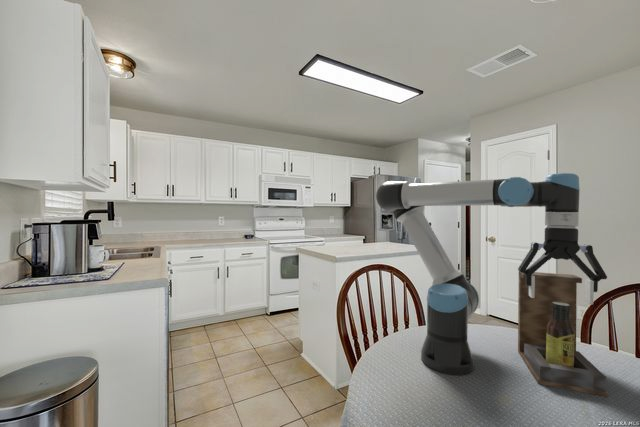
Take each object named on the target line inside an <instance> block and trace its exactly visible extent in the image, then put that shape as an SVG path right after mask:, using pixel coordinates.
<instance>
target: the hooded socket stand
mask: <svg viewBox="0 0 640 427" xmlns="http://www.w3.org/2000/svg"><path fill="white" fill-rule="evenodd" d="M532 275H534V276H535V296H534V298H531V297H530V296H529V286H527V285H526V284H525V274H524V273H522V272H520V271H518V294H517V295H518V304H517V305H518V312H517V314H518V315H517V319H518V320H517V321H518V322H517V324H518V325H517V353H518V355H519V356H520V357H521V359H522V360H523V362H524V364H525V365H526V367H527V368H528V370H529V372H530V373H531V374H532V376H533V378H534V380H535V382H536V383H537V384H538V385H544V386H548V387H554V388H559V389H564V390H570V391H576V392H581V393H586V394H590V395H591V394H592V395H598V396H603V397H607V398H608V397H609V392H608V391H607V387H606V386H607V376H606V375H604V373H602V372H601V371H600V370H599V369H598V368H597V367H596V366H595V365H594V364H593V363H592V362H591V361H590V360H589V359H588V358H586V357H585V356H584V355H583V354H582V353H581V352H580V351H578V350H577V295H578V293H577V290H578V289H577V284H582V283H583V278H582V277H580V276H578V275H575V274H564V273H551V272H537V271H535V272H534V273H533V274H532ZM552 302H562V303H566V304H569V305H570V310H569V321H570V323H571V326H572V329H573V331H574V334H575V336H574V368H573V367H567V366H561V365H555V364H549V363H547V362H546V337H547V325H548V322H549V321H550V320H551V319H552V318H553V317H552V314H553V307H552Z"/></svg>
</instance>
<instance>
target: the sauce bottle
mask: <svg viewBox="0 0 640 427" xmlns="http://www.w3.org/2000/svg"><path fill="white" fill-rule="evenodd" d="M552 307H553V314H552V317H553V318H552V319H551V320H550V321H549V322H548V325H547V337H546V362H547V363H549V364H555V365H561V366H567V367H573V368H574V336H575V334H574V331H573V329H572V326H571V323H570V321H569V310H570V305H569V304H566V303H562V302H552Z"/></svg>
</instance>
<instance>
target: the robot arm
mask: <svg viewBox="0 0 640 427" xmlns="http://www.w3.org/2000/svg"><path fill="white" fill-rule="evenodd" d="M375 200H376V202H377V205H378V206H379V207H380V208H381V209H382V210H384V211H385V212H390V213H392V215H393V216H394V218H395V220H396V222H398V223H401V224H402V225H403V227H404V229H405V230H406V232H407V235H408V236H409V238H410V239H411V241H412V244H413V245H414V247H415V249H416V251H417V252H418V254H419V256H420V258H421V261H422V262H423V264H424V266H425V267H426V270H427V271H428V273H429V275H430V277H431V279H432V284H431V286H430V287H429V288H428V290H427V295H426V304H427V305H426V307H427V309H426V311H427V312H426V317H427V318H426V319H427V320H426V323H427V324H426V329H427V330H426V336H425V340H424V342H423V344H422V347H421V349H420V350H421V351H420V358H421V361H422V363H423V364H424V365H426V366H427V367H428V368H431V369H433V370H435V371H438V372H441V373H443V374H448V375H457V376H458V375H460V376H461V375H468V374H470V373H472V372H473V371H474V364H475V362H474V357H473V354H472V351H471V348H470V347H471V346H470V345H469V341H468V327H469V326H468V320H469V318H470V317H471V316H472V314H474V313H475V312H476V310H477V309H478V306H479V302H480V301H479V300H480V297H479V293H478V291H477V289H476V287H475V286H474V285H472V283H470V282H469V281H468V280H467V279H466V277H465V275H464V274H463V272H460V271H457V270H456V268H455V266H454V265H453V263H452V261H451V260H450V258H449V256H448V255H447V253H446V250H445V249H444V247H443V245H442V244H441V242H440V240H439V238H438V237H437V235H436V233H435V232H434V230H433V228H432V226H431V224H430V223H429V221H428V220H427V217H426V215H424V210H425V207H429V206H431V207H433V206H434V207H436V206H440V207H442V206H446V207H448V206H449V207H450V206H451V207H452V206H456V207H457V206H459V207H460V206H461V207H462V206H463V207H464V206H500V207H508V208H514V207H517V208H519V207H523V208H524V207H525V208H526V207H527V208H528V207H540V208H543V207H544V208H545V210H544V211H545V212H544V213H545V214H544V215H545V216H544V225H545V226H547V227H545V228H544V241H543V243H538V242H536V241H533V242H531V244H530V249H529V251H528V252H527V253H526V255H525V257H524V258H523V259H522V262H521V263H520V265H519V267H518V268H517V271H518V272H519V271H520V272H522V273H524V274H525V284H526V285H527V286H529V296H530V297H531V298H534V296H535V276H534V275H532V274H533V273H534V272H537V271H538V270H539V269H540V268H541V267H543V266H544V264H546V263H547V262H548V261H549V260H551V259H554V260H566V261H569V260H570V261H572V262H573V263H574V264H575V265H576V266H577V267H578V268H579V269H580V270H581V271H582V273H584V274H585V275H586V277H587V278H585V286H584V287H585V288H584V289H585V291H584V301H585V302H586V303H587V304H589V305H594V293H598V291H599V290H598V289H599V288H598V286H599V282H600V281H601V280H607V279H608V275H607V274H606V272H605V271H604V269H603V267H602V266H601V264H600V262H599V260H598V258H597V257H596V256H595V253H594V248H593V245H591V244H583V245H582V244H581V245H579V229H578V228H577V227H579V218H580V215H579V214H580V213H579V209H580V207H579V206H580V177H579V175H577V174H576V173H571V172H570V173H566V172H565V173H564V172H563V173H561V172H560V173H552V174H548V175H546V177H545V180H544V181H543V180H542V181H536V182H535V181H532V182H531V181H529V180H528V179H527V178H524V177H521V176H512V177H508V178H501V179H500V178H499V179H483V180H482V179H478V180H461V181H460V180H459V181H441V182H424V183H422V182H421V183H411V182H410V181H409V180H406V181H405V180H404V181H402V180H399V181H397V180H388V181H385V182H383V183H381V185H380V186H378V188H377V191H376V194H375ZM541 249H543V250H544V251H545V252H543V253H542V255H541V256H540V257H539V258H538V259H537V260H536V261H534V262H533V263H532V261H533V259H534V258H535V256H536V255H537V253H538V251H540V250H541ZM579 251H580V252H581V253H583V254H584V256H585V258H586V259H587V261H588V263H589V264H590V266H591V268H589V267H588V265H586V264H585V262H583V261H582V259H581V257H579V256H578V255H577V253H578V252H579ZM531 263H532V264H531ZM591 269H592V270H591ZM593 271H594V272H593Z"/></svg>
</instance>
